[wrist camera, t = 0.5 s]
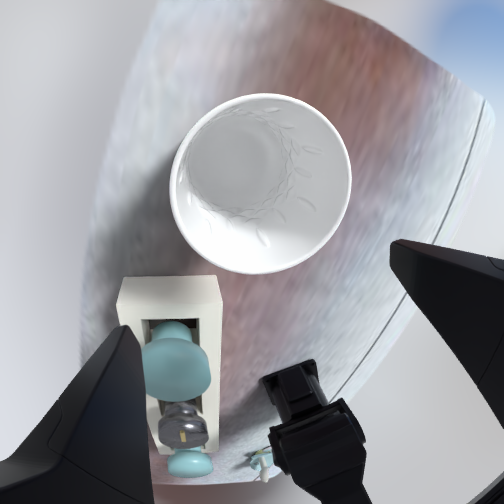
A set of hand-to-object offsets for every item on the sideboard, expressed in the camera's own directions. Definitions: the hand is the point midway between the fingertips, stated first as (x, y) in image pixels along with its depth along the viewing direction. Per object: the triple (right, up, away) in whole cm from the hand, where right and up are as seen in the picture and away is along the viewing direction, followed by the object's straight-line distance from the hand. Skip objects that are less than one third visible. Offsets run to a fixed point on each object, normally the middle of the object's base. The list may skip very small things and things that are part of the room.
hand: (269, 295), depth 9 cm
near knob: (-7, -5, +13) cm, 16 cm away
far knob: (-8, -22, +21) cm, 31 cm away
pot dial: (-8, -13, +17) cm, 23 cm away
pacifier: (+2, -34, +34) cm, 48 cm away
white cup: (-2, +8, +12) cm, 15 cm away
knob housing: (-8, -12, +20) cm, 25 cm away
